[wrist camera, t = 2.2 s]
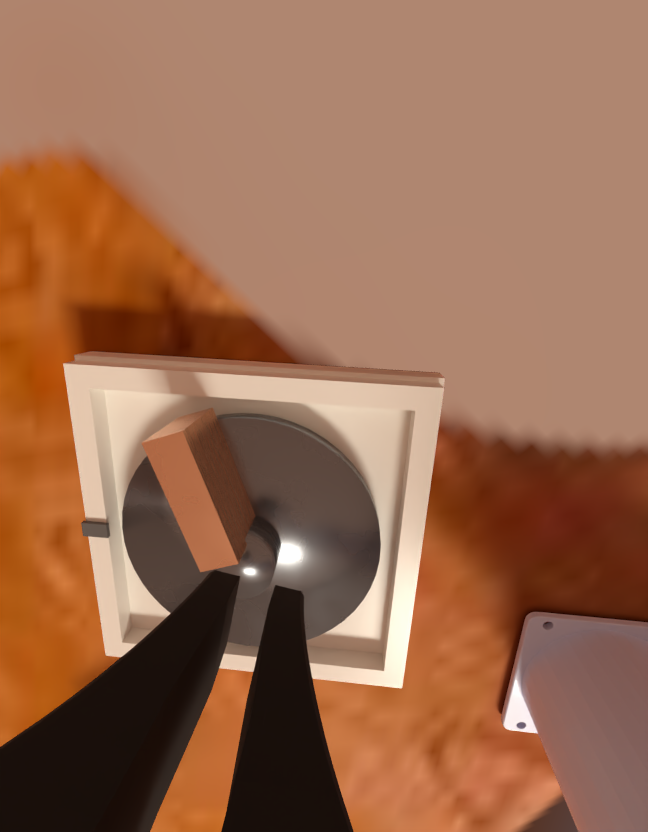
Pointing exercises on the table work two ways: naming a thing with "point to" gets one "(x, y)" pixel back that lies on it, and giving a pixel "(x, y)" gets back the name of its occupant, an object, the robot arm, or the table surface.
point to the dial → (252, 518)
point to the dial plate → (284, 398)
